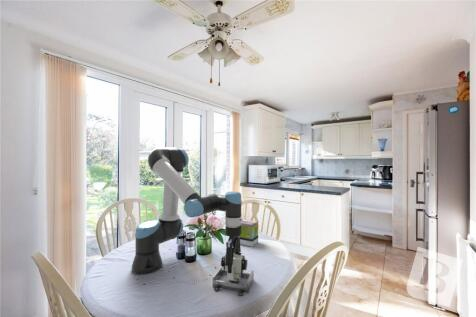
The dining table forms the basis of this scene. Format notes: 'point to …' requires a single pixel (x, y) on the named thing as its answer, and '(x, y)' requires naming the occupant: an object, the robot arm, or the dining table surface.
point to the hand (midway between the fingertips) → (233, 273)
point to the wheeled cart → (240, 285)
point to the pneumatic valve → (236, 265)
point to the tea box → (249, 233)
